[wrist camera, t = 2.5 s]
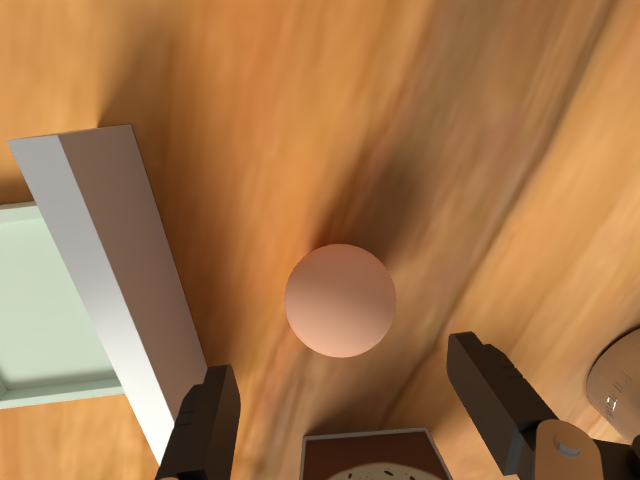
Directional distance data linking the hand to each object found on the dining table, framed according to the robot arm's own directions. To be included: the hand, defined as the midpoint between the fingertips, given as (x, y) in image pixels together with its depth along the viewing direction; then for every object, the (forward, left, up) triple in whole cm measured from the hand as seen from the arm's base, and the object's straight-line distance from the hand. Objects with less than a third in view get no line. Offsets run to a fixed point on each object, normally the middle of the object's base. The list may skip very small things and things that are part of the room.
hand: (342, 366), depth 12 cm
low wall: (+9, 0, -7) cm, 12 cm away
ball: (0, 0, -7) cm, 7 cm away
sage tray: (+17, 0, -7) cm, 18 cm away
